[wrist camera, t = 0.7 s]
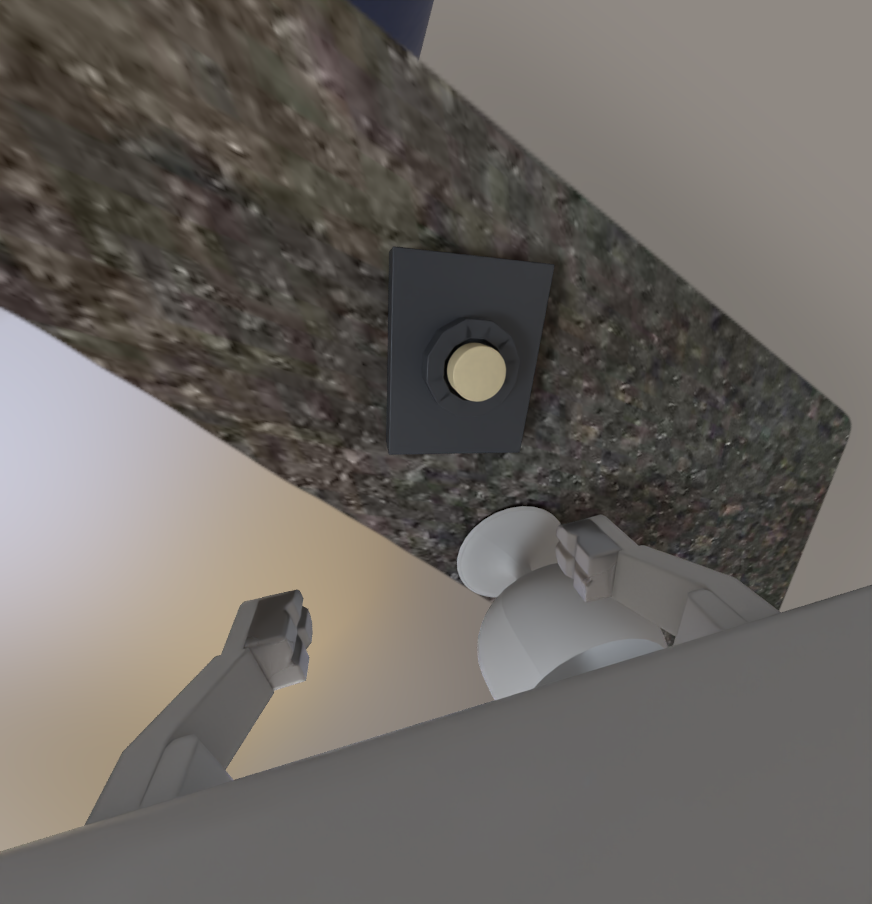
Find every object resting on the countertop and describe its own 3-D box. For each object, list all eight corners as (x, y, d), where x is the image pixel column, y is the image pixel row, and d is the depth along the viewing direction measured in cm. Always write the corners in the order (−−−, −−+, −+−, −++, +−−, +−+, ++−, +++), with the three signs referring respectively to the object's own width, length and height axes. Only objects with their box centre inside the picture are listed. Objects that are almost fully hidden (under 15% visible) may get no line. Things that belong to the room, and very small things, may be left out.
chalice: (420, 568, 35) (457, 734, 22) (515, 471, 33) (623, 592, 19) (506, 616, 41) (577, 770, 28) (593, 537, 39) (717, 665, 25)
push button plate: (389, 251, 23) (395, 242, 19) (536, 267, 26) (569, 262, 22) (386, 441, 29) (390, 465, 25) (507, 440, 31) (529, 461, 27)
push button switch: (449, 340, 22) (455, 344, 21) (500, 343, 23) (510, 347, 22) (444, 394, 24) (450, 401, 22) (493, 395, 25) (502, 402, 23)
